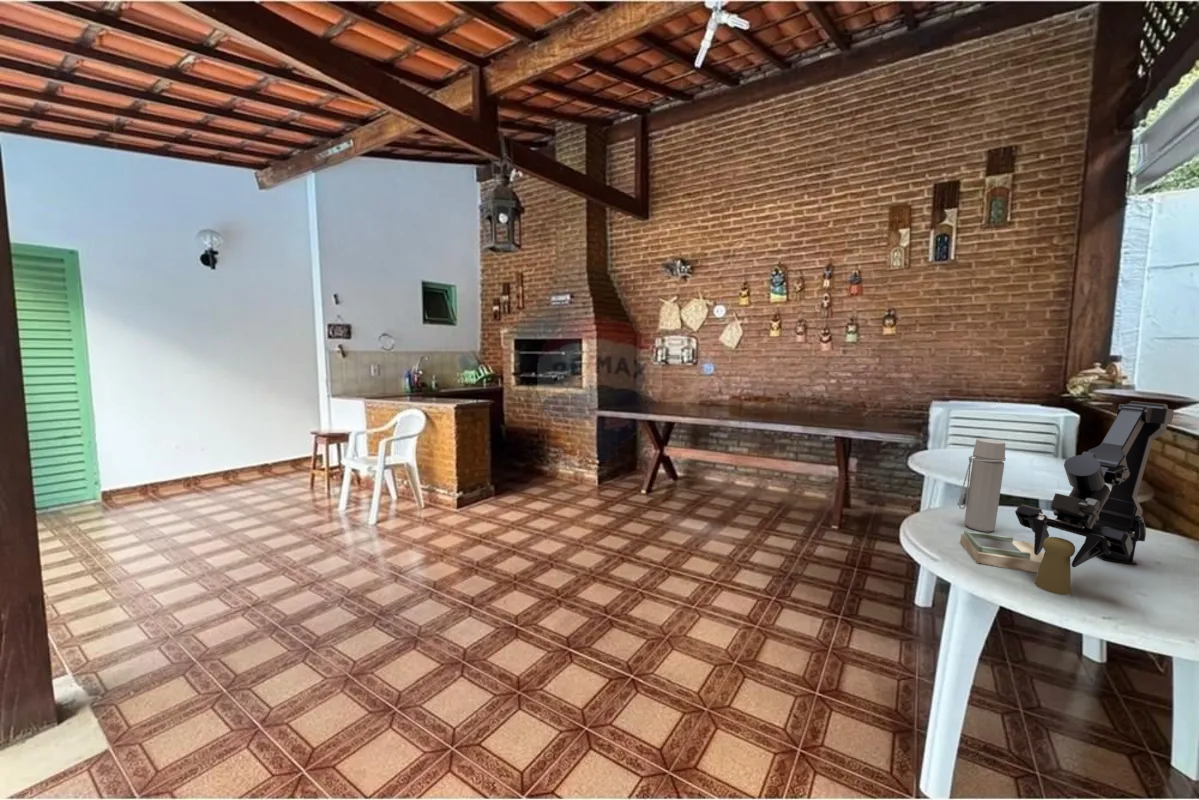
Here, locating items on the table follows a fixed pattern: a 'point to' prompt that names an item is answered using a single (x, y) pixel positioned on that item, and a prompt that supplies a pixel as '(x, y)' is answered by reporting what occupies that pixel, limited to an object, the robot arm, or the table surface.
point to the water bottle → (984, 484)
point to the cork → (1056, 566)
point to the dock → (1001, 551)
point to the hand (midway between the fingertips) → (1053, 559)
